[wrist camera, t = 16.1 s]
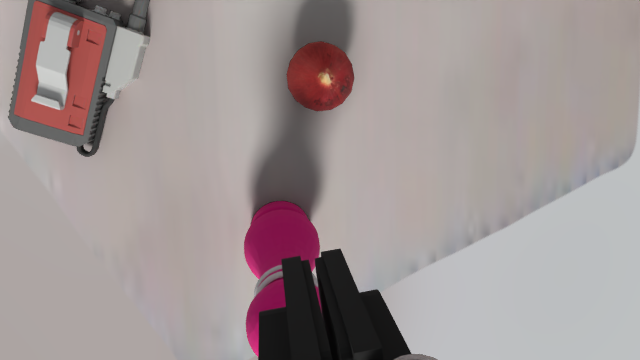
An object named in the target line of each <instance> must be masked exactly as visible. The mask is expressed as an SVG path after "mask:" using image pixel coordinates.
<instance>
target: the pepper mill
mask: <svg viewBox="0 0 640 360" xmlns="http://www.w3.org/2000/svg"><path fill="white" fill-rule="evenodd" d="M319 250H320V245H319V238H318V234H317V231H316V229H315V227H314V226H313V224H312V223H311V222H310V221H309V219H308V218H307V216H306V214H305V213H304V211H303V210H302V209H301V208H300V207H299V206H297V205H295V204H293V203H290V202H287V201H275V202H271V203H268V204H266V205H264V206H263V207H262V208H260V209H259V210H258V211H257V212H256V214H255V215H254V217H253V219H252V222H251V226H250V228H249V230H248V232H247V234H246V237H245V241H244V253H245V258H246V261H247V264H248V266H249V268H250V269H251V271H252V272H253V274H254V275H255V276H256V277H257V278H258V279H259V280H258V282H257V284H256V287H255V292H254V299H253V301H252V302H251V304H250V307H249V309H248V312H247V318H246V332H247V338H248V341H249V344H250V346H251V348H252V350H253V351H254V353H255V354H256V355H257V356H258V348H259V312H260V311H264V310H270V309H275V308H281V307H286V302H285V292H284V282H283V272H282V262H281V259H284V258H289V257H295V256H300V257H301V261H302V260H308V259H309V263H310V267H311V271H313V269H314V268H315V258H318V257H319ZM312 275H313V279H314V283H315V288H316V292H317V296H318V300H319V304H320V297H319V289H318V282H317V278H316V277H315V276H314V274H313V273H312ZM320 309H321V304H320ZM321 313H322V312H321Z"/></svg>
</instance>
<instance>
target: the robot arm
mask: <svg viewBox="0 0 640 360" xmlns="http://www.w3.org/2000/svg"><path fill="white" fill-rule="evenodd" d="M281 262H282V272H283V282H284V292H285V302H286V307H281V308H275V309H270V310H264V311H260V312H259V348H258V360H437V359H435V358H433V357H430V356H426V355H422V354H411V352H410V350H409V348H408V347H407V344H406V342H405V341H404V338H403V337H402V335H401V333H400V331H399V329H398V327H397V325H396V323H395V321H394V319H393V317H392V315H391V313H390V311H389V309H388V307H387V305H386V303H385V302H384V300H383V298H382V296H381V294H380V292H379V291H378V290H371V291H366V292H361V293H359V291H358V289H357V287H356V284H355V282H354V280H353V277H352V275H351V272H350V270H349V268H348V265H347V263H346V261H345V258H344V256H343V254H342V251H341V249H335V250H330V251H324V252H321V257H319V258H315V267H316V274H317V282H318V289H319V297H320V304H321V309H320V304H319V300H318V296H317V292H316V288H315V283H314V279H313V275H312V271H311V267H310V263H309V259H308V260H302V261H301V257H300V256H295V257H289V258H284V259H281ZM321 312H322V313H321Z"/></svg>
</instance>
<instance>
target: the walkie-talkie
mask: <svg viewBox="0 0 640 360" xmlns="http://www.w3.org/2000/svg"><path fill="white" fill-rule="evenodd" d="M149 1H150V0H135V4H134V8H133V12H132V14H130V16H129V20H128V25H127V28H125V27H124V24H123V22H121V21H122V20H121V19H120V17H121V14H119V13H116V12H114V11H110V14H109V15H107V14H106V11H107V9H105V8H103V7H100V6H97V5H96V7H95V10H93V9H92V10H90V9H87V8H84V7H82V6H79V5H76V4H75V3H76V2H80V0H28V5H27V11H26V17H25V22H24V28H23V34H22V39H21V45H20V49H21V51H20V53H19V55H20V57H19V59H18V66H17V72H16V73H15V74H16V79H14V81H15V85H13V87H14V90H13V92H12V94H13V96H12V98H11V100H12V101H11V104H10V110H9V116H8V118H9V120H10V122H11V124H12V126H13V127H14V128H16V129H18V130H21V131H25V132H28V133H31V134H35V135H38V136H41V137H45V138H48V139H52V140H55V141H58V142H62V143H65V144H68V145H72V146H77V151H78V152H79V154H81V155H83V156H85V157H90V156H92V155H94V154H95V153H96V152H97V150H98V148H99V143H100V139H101V135H102V131H103V127H104V123H105V118H106V114H107V111H108V108H109V106H110V105H111V104H112V103H113V102H114V100H115V99H117V98H119V94H120V90H122V89H123V88H125V87H126V86H128V85H129V84H131V83H132V82H133V81H135V80H136V79H138V76H139V72H140V68H141V64H142V60H143V57H144V53H145V49H146V46H148V44H149V40H150V37H148V36H146V35H144V34H143V32H144V28H145V24H146V19H145V17H146V13H147V9H148V5H149ZM107 99H108V100H107ZM92 140H94V143H93V147H92V149H91V151H90V152H88V151H86V150H85V149H84V147H83V145H84V144H86V143H88V142H90V141H92Z"/></svg>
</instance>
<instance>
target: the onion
mask: <svg viewBox="0 0 640 360" xmlns="http://www.w3.org/2000/svg"><path fill="white" fill-rule="evenodd" d="M353 81H354V73H353V68H352V64H351V62H350V60H349V59H348V57H347V55H346V54H345V52H343V51H342V50H340V49H339V48H338V47H336V46H335V45H332V44H329V43H325V42H322V41H320V42H314V43H308V44H307V45H305V46H304V47H302V48H301V49H299V50H298V51H297V52H296V54H295V55H294V57H293V58H292V59H291V61H290V64H289V67H288V71H287V82H288V89H289V90H290V92H291V94H292V95H293V97H294V99H295V100H296V101H297V102H299V103H300V104H301V105H303V106H304V107H306V108H309V109H312V110H315V111H324V110H331V109H333V108H335V107H337V106H338V105H340V104H342V103H343V102H344V101H345V99H346V98H347V97H348V95H349V94H350V93H351V91H352V86H353Z"/></svg>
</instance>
